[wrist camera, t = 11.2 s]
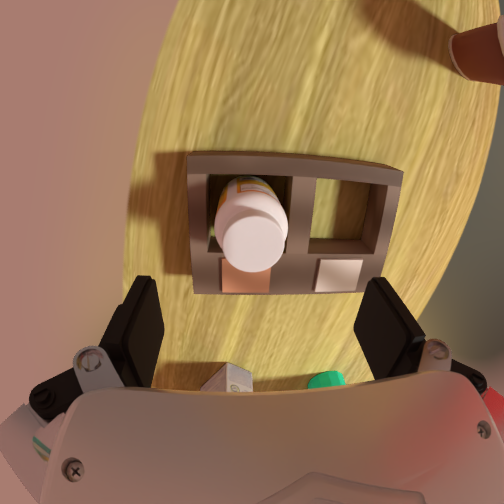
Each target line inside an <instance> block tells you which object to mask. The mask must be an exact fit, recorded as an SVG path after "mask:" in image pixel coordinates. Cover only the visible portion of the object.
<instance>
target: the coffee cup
mask: <svg viewBox="0 0 504 504" xmlns="http://www.w3.org/2000/svg"><path fill="white" fill-rule="evenodd" d="M448 49H449V53H450V58H451V60H452V62H453V64H454V66H455V68H456V69H457V71H458V72H459V73H460V74H461V75H462V76H463V77H464V78H465V79H467V80H470V81H479V82H486V83H492V84H498V85H503V86H504V15H503V16H499V19H498V22H497V23H494V24H490V25H486V26H482V27H479V28H475V29H472V30H468V31H465V32H462V33H459V34H455V35H452V36H451V37H450V39H449V44H448Z"/></svg>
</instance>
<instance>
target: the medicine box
mask: <svg viewBox="0 0 504 504" xmlns="http://www.w3.org/2000/svg"><path fill="white" fill-rule="evenodd" d="M200 391H207V392H253V385H252V373H251V372H249V371H247V370H245V369H242V368H240V367H238V366H235V365H233V364H231V363H228V362H227V363H226V364H225V365H224V366H223V367H222V368H221V369H220V370H219V371H218V372H217V373H215V374H214V375H213V376H212V377H211V378H210V379H209V380H208V381H207V382H206V383H205V384H204V385H203V386H202V387H201V388H200Z"/></svg>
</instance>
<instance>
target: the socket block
mask: <svg viewBox="0 0 504 504" xmlns="http://www.w3.org/2000/svg"><path fill="white" fill-rule="evenodd" d="M403 173H404V172H403V171H401V170H398V169H396V168H393V167H391V166H388V165H385V164H379V163H372V162H365V161H358V160H351V159H343V158H334V157H325V156H315V155H304V154H290V153H274V152H250V151H193V152H192V153H190V154H189V155H188V156H187V186H188V214H189V234H190V250H191V264H192V277H193V289H194V294H226V295H283V294H330V293H356V292H365V289H366V286H367V283H368V281H370V280H371V279H372V278H373V277H380V276H381V272H382V269H383V265H384V262H385V258H386V254H387V250H388V247H389V243H390V238H391V234H392V230H393V226H394V221H395V216H396V212H397V207H398V202H399V196H400V191H401V185H402V179H403ZM210 174H253V175H279V176H285V187H284V200H283V210H284V212H285V214H286V217H287V221H288V233H287V237H286V240H285V242H284V250H283V253H282V255H281V257H280V259H279V260H278V261H277V262H276V263H275V264H274V265H273V266H272V267H270V268H268V269H266V270H264V271H260V272H245V271H241V270H239V269H237V268H235V267H234V266H232V265H231V264H230V263H229V262H228V261H227V259H226V258H225V256H224V253H223V250H222V248H221V247H220V245H219V244H218V242H217V239H216V237H211V236H210ZM317 178H325V179H336V180H346V181H356V182H365V183H371V186H370V192H369V198H368V204H367V210H366V216H365V221H364V226H363V231H362V236H361V240H356V239H319V238H310V231H311V223H312V215H313V207H314V198H315V189H316V180H317Z"/></svg>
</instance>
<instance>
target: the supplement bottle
mask: <svg viewBox="0 0 504 504" xmlns="http://www.w3.org/2000/svg"><path fill="white" fill-rule="evenodd" d="M214 229H215V236H216V239H217V242H218V244H219V245H220V247H221V248H222V250H223V253H224V256H225V258H226V259H227V261H228V262H229V263H230V264H231V265H232V266H234V267H235V268H237V269H239V270H241V271H245V272H260V271H264V270H266V269H268V268H270V267H272V266H273V265H274V264H275V263H276V262H277V261H278V260H279V259H280V257H281V255H282V253H283V250H284V242H285V240H286V237H287V233H288V221H287V217H286V214H285V212H284V210H283V208H282V206H281V204H280V202H279V200H278V198H277V196H276V195H275V193H274V191H273V189H272V188H271V186H270V185H269V184H268V183H267V182H266V181H264V180H263V179H261V178H259V177H256V176H251V175H245V176H240V177H237V178H235V179H233V180H231V181H230V182H229V183H228V184H227V185H226V186H225V187H224V189H223V190H222V192H221V195H220V198H219V203H218V208H217V213H216V218H215V226H214Z"/></svg>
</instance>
